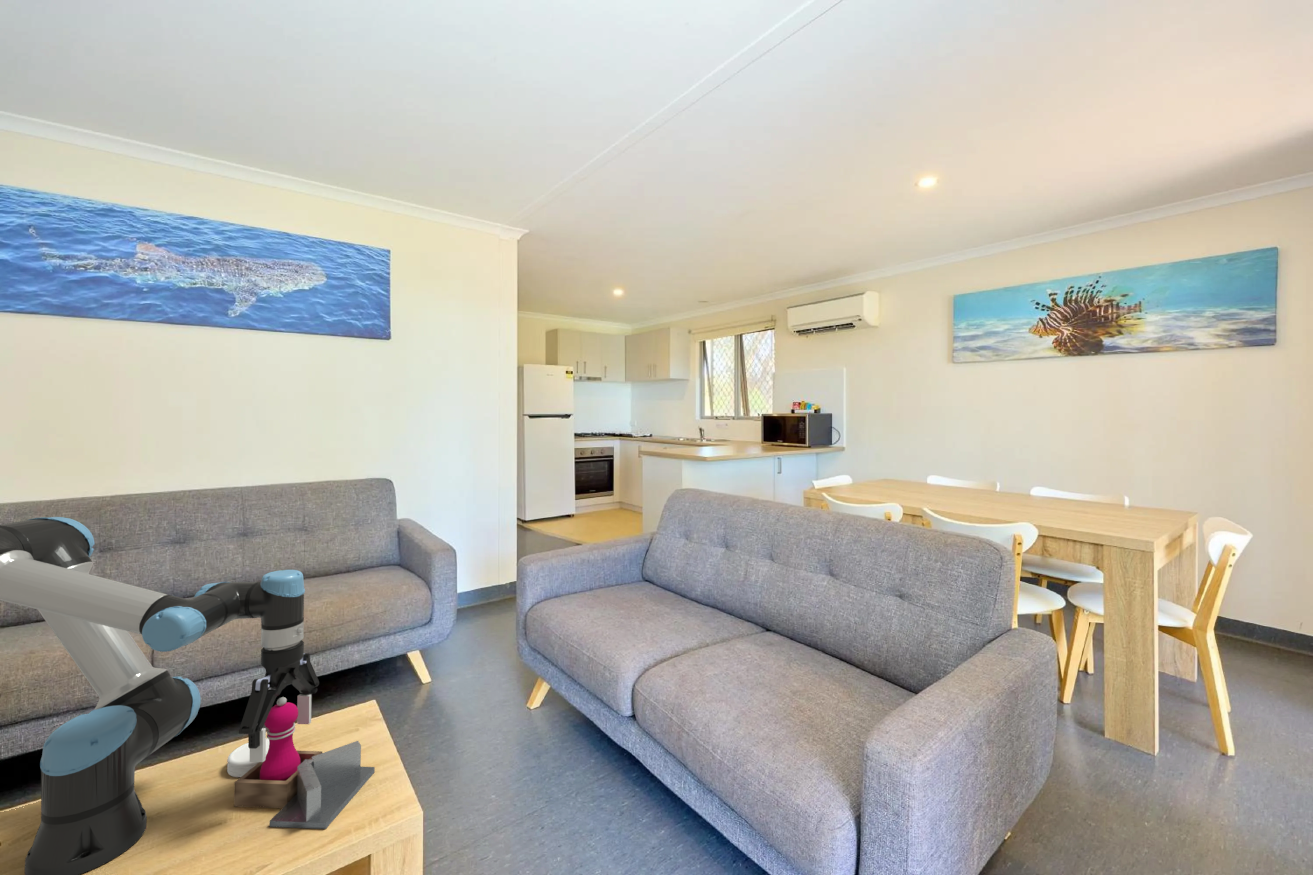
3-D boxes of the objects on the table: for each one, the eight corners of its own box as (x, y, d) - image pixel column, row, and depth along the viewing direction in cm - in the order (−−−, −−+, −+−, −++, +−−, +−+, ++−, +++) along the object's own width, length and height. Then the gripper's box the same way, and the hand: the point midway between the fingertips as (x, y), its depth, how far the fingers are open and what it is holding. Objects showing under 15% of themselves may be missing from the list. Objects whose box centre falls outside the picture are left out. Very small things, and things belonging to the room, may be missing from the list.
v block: (325, 828, 101) (326, 792, 101) (269, 826, 102) (270, 790, 102) (374, 772, 118) (375, 740, 118) (326, 770, 119) (326, 739, 119)
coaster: (292, 753, 125) (292, 739, 125) (254, 781, 115) (254, 765, 115) (255, 749, 126) (255, 734, 126) (215, 775, 116) (215, 760, 116)
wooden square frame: (234, 806, 107) (234, 782, 107) (274, 771, 118) (274, 749, 118) (286, 808, 107) (287, 784, 107) (322, 773, 118) (322, 751, 118)
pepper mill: (278, 803, 108) (280, 708, 108) (250, 797, 109) (252, 703, 109) (308, 780, 115) (310, 691, 115) (281, 775, 117) (283, 687, 116)
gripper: (254, 670, 99) (253, 779, 100) (336, 622, 124) (336, 710, 125) (215, 669, 100) (215, 778, 100) (305, 621, 125) (305, 709, 125)
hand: (282, 741), depth 112 cm, fingers open, 13 cm apart
